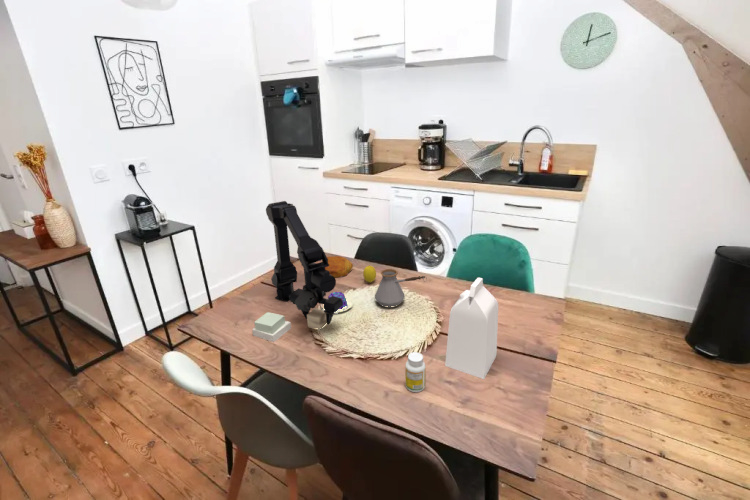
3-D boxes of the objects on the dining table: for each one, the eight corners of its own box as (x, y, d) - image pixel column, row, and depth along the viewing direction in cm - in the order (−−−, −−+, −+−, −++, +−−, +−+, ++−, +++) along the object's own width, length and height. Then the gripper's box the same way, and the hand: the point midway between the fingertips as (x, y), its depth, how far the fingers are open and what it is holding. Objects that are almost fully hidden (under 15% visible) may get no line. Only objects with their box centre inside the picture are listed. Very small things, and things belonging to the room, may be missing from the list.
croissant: (323, 269, 184) (320, 254, 181) (355, 266, 181) (351, 250, 179) (315, 282, 170) (311, 266, 168) (349, 278, 168) (346, 261, 165)
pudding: (315, 306, 147) (314, 294, 145) (340, 296, 154) (339, 284, 152) (333, 318, 138) (332, 306, 137) (359, 307, 146) (358, 294, 144)
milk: (484, 379, 106) (491, 296, 96) (445, 365, 112) (448, 286, 102) (496, 355, 115) (504, 277, 106) (459, 344, 121) (464, 269, 112)
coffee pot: (368, 304, 146) (367, 269, 141) (385, 292, 155) (385, 258, 150) (417, 321, 135) (418, 283, 129) (433, 307, 143) (434, 270, 138)
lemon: (378, 280, 166) (377, 263, 163) (374, 286, 161) (373, 268, 158) (366, 279, 168) (365, 262, 165) (361, 284, 163) (360, 267, 160)
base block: (271, 323, 137) (270, 316, 136) (291, 329, 133) (290, 322, 132) (253, 336, 130) (252, 329, 129) (273, 343, 126) (272, 335, 125)
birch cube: (316, 320, 137) (315, 308, 136) (328, 323, 135) (327, 311, 133) (308, 327, 133) (306, 314, 131) (319, 330, 131) (318, 318, 129)
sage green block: (268, 319, 134) (267, 312, 133) (285, 323, 132) (284, 315, 130) (255, 329, 128) (254, 322, 127) (272, 334, 126) (271, 326, 124)
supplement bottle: (417, 395, 101) (418, 366, 97) (401, 387, 104) (401, 357, 101) (428, 384, 105) (429, 355, 101) (412, 376, 108) (412, 348, 104)
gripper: (275, 286, 125) (281, 326, 131) (323, 297, 117) (327, 340, 123) (297, 272, 135) (301, 311, 140) (342, 282, 126) (345, 323, 132)
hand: (317, 321), depth 134 cm, fingers open, 9 cm apart
